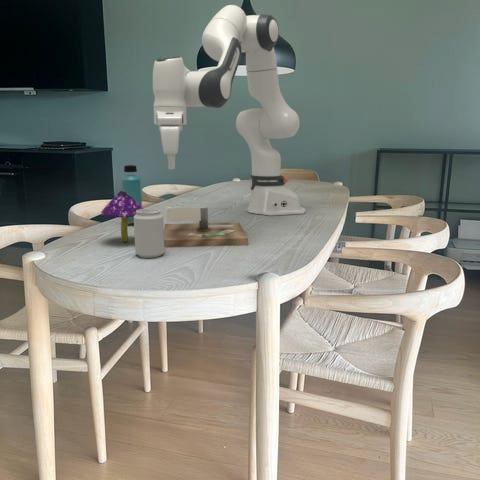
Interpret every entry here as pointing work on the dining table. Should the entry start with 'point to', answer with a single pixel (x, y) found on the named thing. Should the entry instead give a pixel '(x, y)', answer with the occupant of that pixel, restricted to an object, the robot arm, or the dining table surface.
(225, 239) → the board
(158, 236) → the can
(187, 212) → the cream lever
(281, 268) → the dining table surface
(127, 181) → the beverage bottle
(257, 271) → the dining table surface
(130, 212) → the decorative mushroom
